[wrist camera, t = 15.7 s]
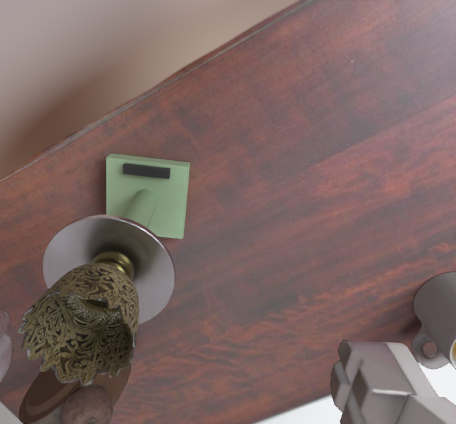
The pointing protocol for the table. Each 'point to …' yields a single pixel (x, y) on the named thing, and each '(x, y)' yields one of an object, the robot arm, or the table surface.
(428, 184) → the table surface
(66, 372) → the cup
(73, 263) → the brushed steel disc
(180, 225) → the scale
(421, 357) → the coffee mug
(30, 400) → the alarm clock
